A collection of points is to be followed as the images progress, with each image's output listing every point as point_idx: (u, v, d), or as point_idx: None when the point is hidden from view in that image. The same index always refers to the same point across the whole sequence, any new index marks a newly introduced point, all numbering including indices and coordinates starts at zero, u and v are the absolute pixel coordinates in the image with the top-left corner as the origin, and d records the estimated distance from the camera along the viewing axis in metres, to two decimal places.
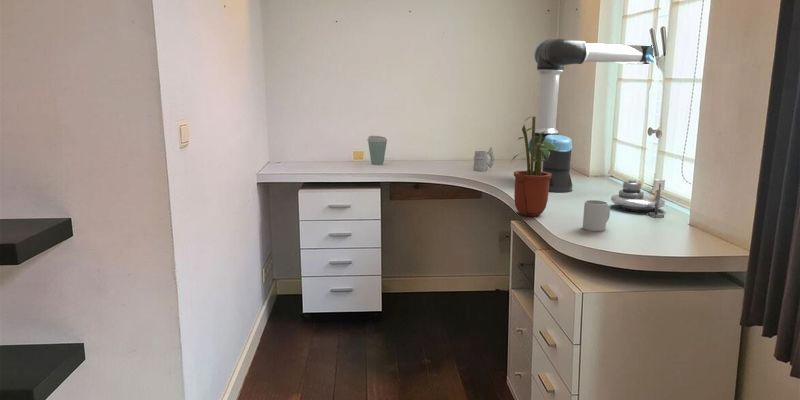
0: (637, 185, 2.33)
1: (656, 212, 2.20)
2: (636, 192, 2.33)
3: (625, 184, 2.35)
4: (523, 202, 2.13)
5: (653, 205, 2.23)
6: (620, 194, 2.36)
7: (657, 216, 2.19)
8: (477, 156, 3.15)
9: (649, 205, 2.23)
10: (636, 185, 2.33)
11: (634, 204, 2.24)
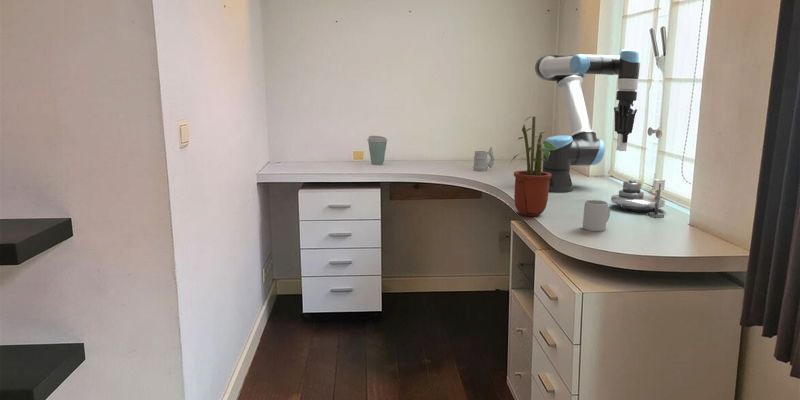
0: (637, 185, 2.33)
1: (656, 212, 2.20)
2: (636, 192, 2.33)
3: (625, 184, 2.35)
4: (523, 202, 2.13)
5: (653, 205, 2.23)
6: (620, 194, 2.36)
7: (657, 216, 2.19)
8: (477, 156, 3.15)
9: (649, 205, 2.23)
10: (636, 185, 2.33)
11: (634, 204, 2.24)
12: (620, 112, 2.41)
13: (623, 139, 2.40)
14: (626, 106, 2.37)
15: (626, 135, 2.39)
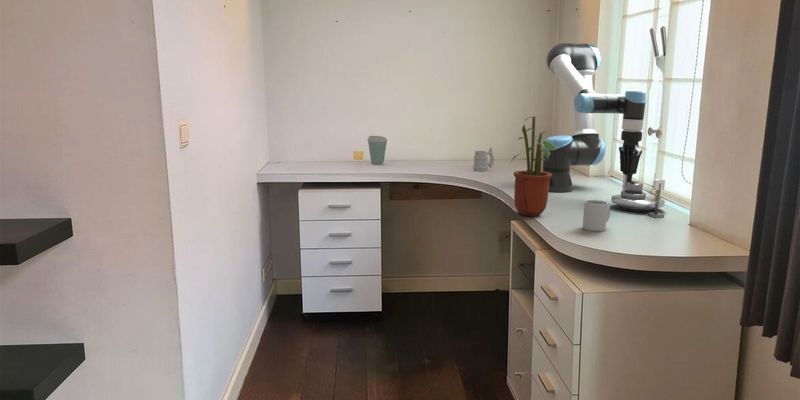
0: (639, 186, 2.31)
1: (656, 212, 2.20)
2: (638, 193, 2.32)
3: (627, 185, 2.33)
4: (523, 202, 2.13)
5: (653, 205, 2.23)
6: (622, 195, 2.34)
7: (657, 216, 2.19)
8: (477, 156, 3.15)
9: (649, 205, 2.23)
10: (638, 185, 2.31)
11: (634, 204, 2.24)
12: (625, 152, 2.37)
13: (627, 179, 2.38)
14: (631, 147, 2.34)
15: (630, 175, 2.37)
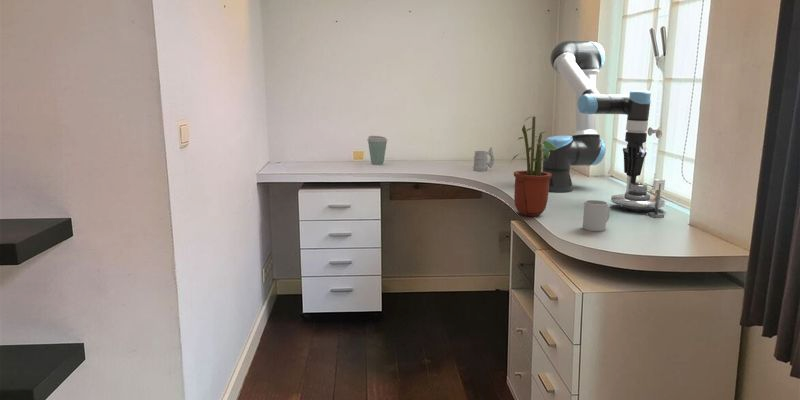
0: (643, 187, 2.28)
1: (656, 212, 2.20)
2: (642, 194, 2.29)
3: (631, 186, 2.30)
4: (523, 202, 2.13)
5: (653, 205, 2.23)
6: (626, 196, 2.32)
7: (657, 216, 2.19)
8: (477, 156, 3.15)
9: (649, 205, 2.23)
10: (642, 187, 2.28)
11: (634, 204, 2.24)
12: (629, 153, 2.35)
13: (631, 181, 2.35)
14: (635, 148, 2.31)
15: (634, 177, 2.34)
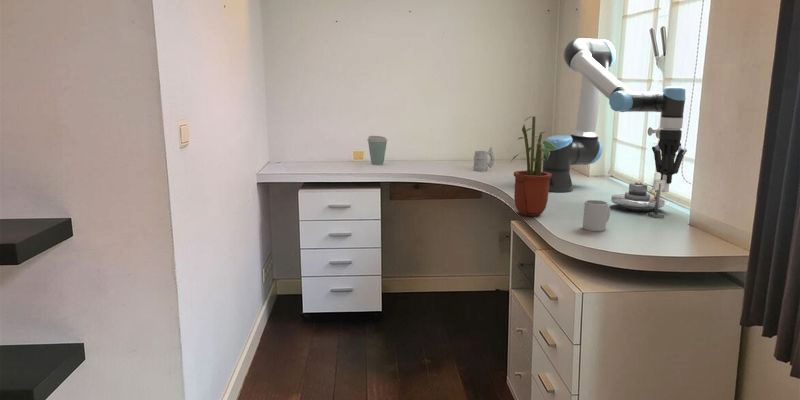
0: (643, 187, 2.28)
1: (656, 212, 2.20)
2: (642, 194, 2.29)
3: (631, 186, 2.30)
4: (523, 202, 2.13)
5: (654, 205, 2.23)
6: (626, 196, 2.31)
7: (657, 216, 2.19)
8: (477, 156, 3.15)
9: (650, 205, 2.23)
10: (642, 187, 2.28)
11: (635, 204, 2.24)
12: (664, 152, 2.28)
13: (668, 180, 2.29)
14: (674, 146, 2.25)
15: (671, 176, 2.28)
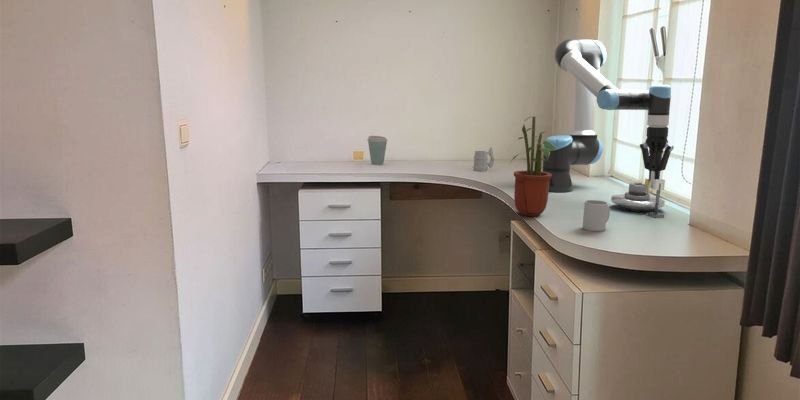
0: (646, 187, 2.29)
1: (656, 212, 2.20)
2: (645, 194, 2.30)
3: (636, 187, 2.29)
4: (523, 202, 2.13)
5: (663, 203, 2.26)
6: (631, 198, 2.29)
7: (657, 216, 2.19)
8: (477, 156, 3.15)
9: (661, 204, 2.25)
10: (646, 186, 2.29)
11: (651, 205, 2.23)
12: (652, 149, 2.32)
13: (656, 176, 2.33)
14: (661, 143, 2.29)
15: (659, 172, 2.33)
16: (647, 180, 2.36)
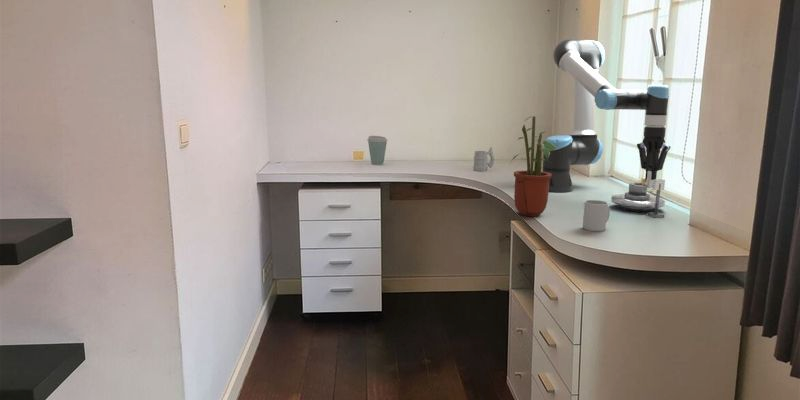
0: None
1: (656, 212, 2.20)
2: (646, 194, 2.30)
3: (637, 187, 2.28)
4: (523, 202, 2.13)
5: (664, 203, 2.28)
6: (634, 198, 2.28)
7: (657, 216, 2.19)
8: (477, 156, 3.15)
9: (663, 203, 2.26)
10: (646, 186, 2.29)
11: None
12: (649, 149, 2.33)
13: (653, 176, 2.34)
14: (658, 143, 2.30)
15: (655, 172, 2.33)
16: (644, 180, 2.37)
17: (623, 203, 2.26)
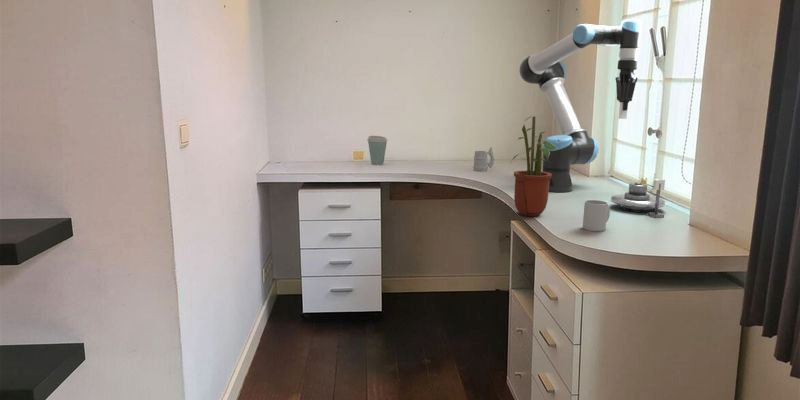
0: None
1: (656, 212, 2.20)
2: (646, 194, 2.30)
3: (637, 187, 2.28)
4: (523, 202, 2.13)
5: (664, 203, 2.28)
6: (634, 198, 2.28)
7: (657, 216, 2.19)
8: (477, 156, 3.15)
9: (663, 203, 2.26)
10: (646, 186, 2.29)
11: None
12: (621, 81, 2.49)
13: (623, 107, 2.49)
14: (627, 75, 2.45)
15: (626, 103, 2.48)
16: (644, 180, 2.37)
17: (623, 203, 2.26)
